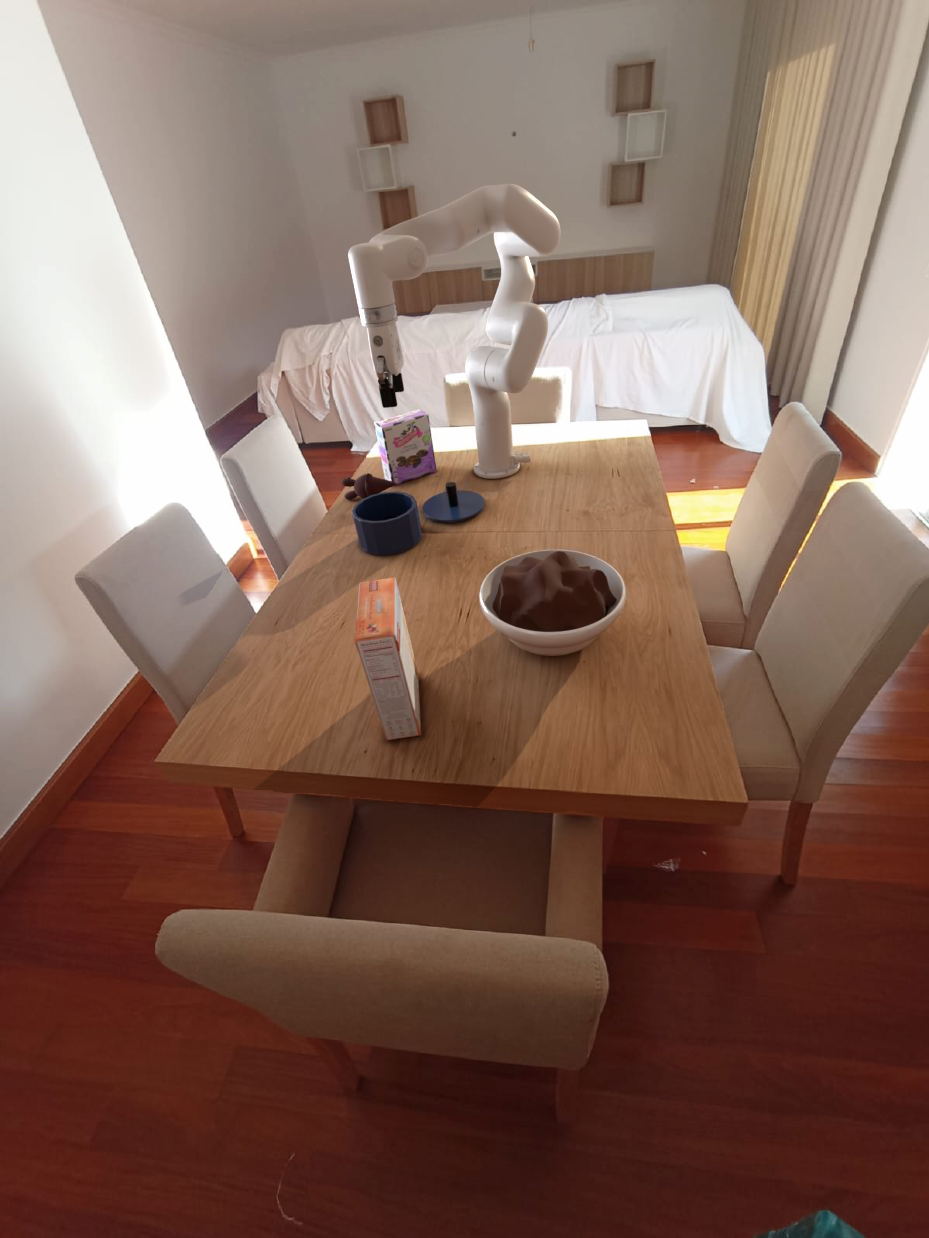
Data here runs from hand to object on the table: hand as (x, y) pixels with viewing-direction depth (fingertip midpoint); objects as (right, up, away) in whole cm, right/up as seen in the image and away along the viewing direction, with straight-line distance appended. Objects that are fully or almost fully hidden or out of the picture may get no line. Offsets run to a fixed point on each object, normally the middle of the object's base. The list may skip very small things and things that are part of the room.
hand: (393, 399), depth 132 cm
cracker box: (+6, -63, -35) cm, 72 cm away
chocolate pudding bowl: (+32, -51, -24) cm, 64 cm away
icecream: (-9, -17, +27) cm, 33 cm away
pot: (-2, -30, +9) cm, 31 cm away
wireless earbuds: (-1, -29, +8) cm, 31 cm away
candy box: (+1, -9, +35) cm, 36 cm away
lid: (+13, -21, +16) cm, 29 cm away
